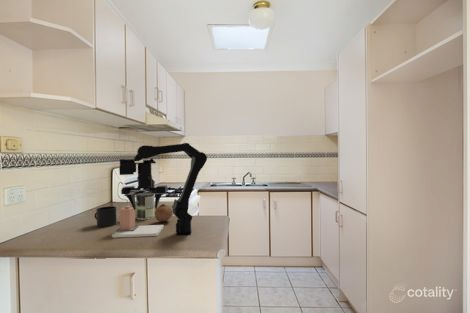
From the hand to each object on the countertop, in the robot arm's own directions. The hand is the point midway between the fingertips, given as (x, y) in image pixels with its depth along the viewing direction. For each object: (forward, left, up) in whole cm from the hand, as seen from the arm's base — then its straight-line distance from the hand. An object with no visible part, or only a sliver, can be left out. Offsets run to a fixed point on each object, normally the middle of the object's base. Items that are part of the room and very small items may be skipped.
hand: (145, 209), depth 114 cm
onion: (-2, -27, -13) cm, 30 cm away
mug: (+29, -26, -13) cm, 41 cm away
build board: (+6, -10, -13) cm, 17 cm away
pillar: (+12, -12, -12) cm, 21 cm away
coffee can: (+11, -39, -13) cm, 43 cm away
